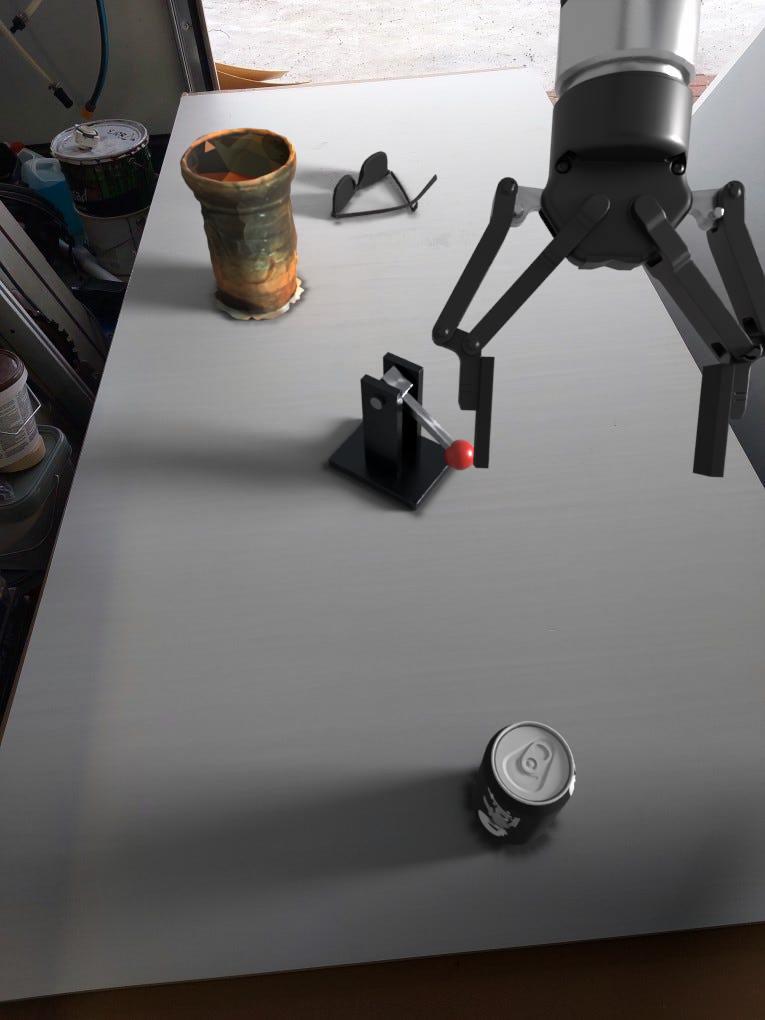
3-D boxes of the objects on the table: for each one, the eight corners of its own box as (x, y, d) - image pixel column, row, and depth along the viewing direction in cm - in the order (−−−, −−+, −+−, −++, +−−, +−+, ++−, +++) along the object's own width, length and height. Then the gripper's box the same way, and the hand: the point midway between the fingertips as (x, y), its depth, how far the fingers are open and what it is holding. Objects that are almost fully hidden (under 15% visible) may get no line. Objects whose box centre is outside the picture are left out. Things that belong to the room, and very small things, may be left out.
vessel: (332, 284, 101) (319, 144, 85) (266, 335, 94) (239, 194, 78) (260, 251, 106) (235, 114, 90) (192, 298, 100) (153, 158, 84)
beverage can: (454, 804, 58) (466, 761, 48) (504, 748, 60) (524, 696, 51) (516, 866, 55) (542, 833, 45) (566, 804, 58) (599, 760, 48)
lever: (469, 460, 74) (486, 450, 72) (454, 480, 73) (471, 470, 70) (384, 374, 73) (398, 360, 70) (367, 392, 71) (380, 378, 68)
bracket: (457, 459, 80) (466, 369, 69) (415, 511, 76) (418, 424, 65) (372, 418, 85) (368, 328, 73) (328, 465, 80) (317, 376, 69)
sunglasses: (400, 243, 107) (401, 213, 103) (325, 217, 112) (322, 187, 108) (453, 194, 115) (455, 164, 111) (381, 172, 120) (380, 142, 116)
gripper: (813, 124, 42) (773, 473, 45) (403, 121, 43) (391, 458, 46) (896, 63, 34) (842, 485, 37) (398, 61, 36) (384, 467, 39)
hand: (592, 471), depth 42 cm, fingers open, 13 cm apart
